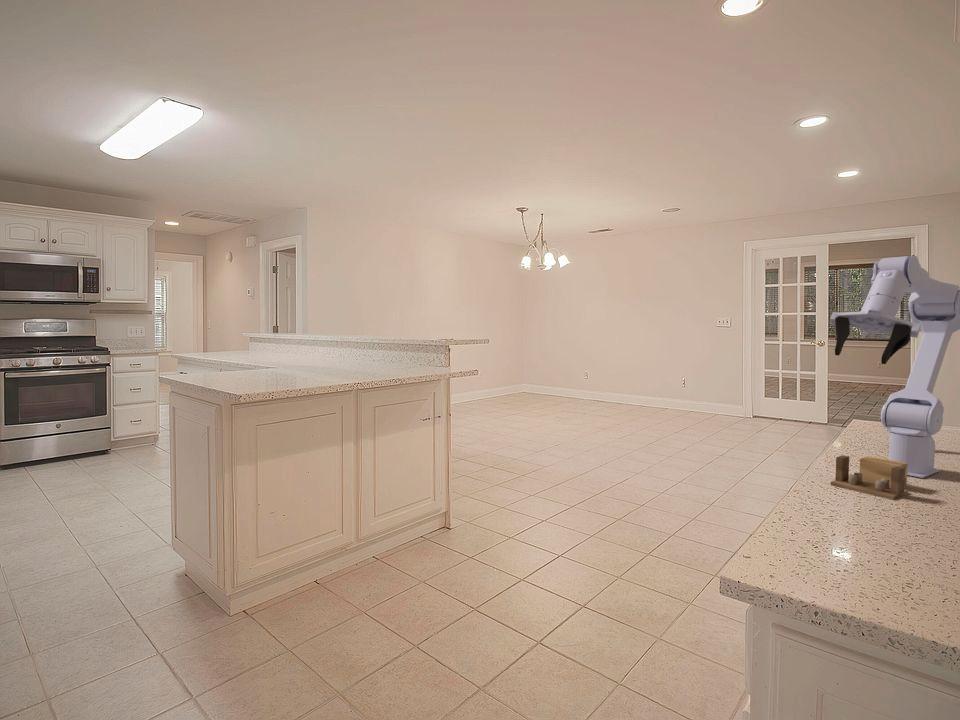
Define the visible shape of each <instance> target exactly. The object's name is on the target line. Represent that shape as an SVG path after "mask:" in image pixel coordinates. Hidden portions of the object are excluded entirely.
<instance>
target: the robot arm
mask: <svg viewBox="0 0 960 720" xmlns="http://www.w3.org/2000/svg"><path fill="white" fill-rule="evenodd" d="M872 270H873V271H872V277H871V280H870V285H871V286H870V289H869V291H868V294H867V296H866V298H865V300H864V303H863V305H862V307H861V310H860V311H847V312H846V311H845V312H836V311H832V314H831V315H830V318H829V324H830V325H831V326H835V327H834V328H835V335H836V336H835V337H836V342H835V343H836V344H835V347H834V355H835V356H838V357H839V356H840V355H841V353H842V350H843V348H844V344H845V343H846V341H847V339H848V337H849V336H850V334H851V329H850V327H854V328H857V329H860V330H861V331H862V330H863V331H864V332H865V331H866V332H869V333H874V334H891V335H890V337H889V340H888V343H887V344H886V345H885V346H886V347H885V348H884V350H883V353H882V355H881V359H880V360H881V362H880V363H881V365H886V364H887V363H888V361H889V360H890V359H891V358H892V357H893V356H894V355H895V354H896V353H897V352H898V351H899V350H901V349H902V348H904V347H906V346H907V345H908V344H909V342H910V339H911V337H912V338H918V336H919V335H920V333H922V338H921V340H920V344H919V346H918V349H917V353H916V356H915V358H914V361H913V364H912V368H911V369H910V373H909V376H908V379H907V381H906V384H905V388H903V389H900V390H898V391H895V392H893V393H890V394H889V396H888V398H887V400H886V402H885V403H884V404H883V406H882V408H881V411H880V422H881V424H882V425H883V427H884V428H886V432H889V446H888V460H893V461H899V462H904V463H908V468H907V476H912V477H916V478H921V479H924V478H926V477H929V476H931V475H933V474H936V473H938V472H940V469H939V468H935V458H936V457H935V453H936V442H935V440H934V438H933V437H932V436H933V435H936V434H937V433H939V432H940V431H941V428H942V426H943V421H944V420H943V419H944V411H945V409H944V408H945V407H944V404H943V402H942V401H941V400H940V399H939V398H938V397H937V396H936V395H934V394H933V392H934V389H935V386H936V383H937V379H938V376H939V373H940V370H941V368H942V365H943V362H944V359H945V355H946V352H947V349H948V346H949V343H950V341H951V338H952V336H953V334H954V333H956V332H958V331H960V286H959V284H953V283H949V282H943V281H940V280H937V279H934V278H931V277H930V274H929V271H927V269H925V268H923V267H922V265H921V264H920V261H919V258H918V256H917V255H912V256H911V255H906V256H892V257H883V258H881V259H879V260H878V261H877V260H876V262H874V264H873V268H872ZM906 293H909V294H910V295H909V299H908V312H909V314H910V318H911V319H910V320H911V321H908V320H906V319H902V318H899V317H896V316H897V313H898V311H899V308H900V306H901V304H902V301H903V299H904V296H905V294H906Z"/></svg>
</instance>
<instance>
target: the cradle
mask: <svg viewBox="0 0 960 720" xmlns="http://www.w3.org/2000/svg"><path fill="white" fill-rule="evenodd" d="M849 471H850V456H849V455H845V454H844V455H839V456H836V459H835V480H833V481H830V485H831V486H834V487H837V488H842V489H847V490H850V491H851V490H852V491H855V492H860V493H863V494H868V495H870V496H871V495H872V496H876V497H880V498H883V499H888V500H892V501H894V500H895V499H899V498H900V497H903V496H906V495H907V494H909V490H908V489H905V487H904V485H905V467H902V466H896V467H893V468H892V469H891V486H889V485H890V480H889V479H885V478H881V481H880V480H876V483H874V482H869V481H865V480H862V474H861V473H860V472H854V473H853V474H850V472H849Z"/></svg>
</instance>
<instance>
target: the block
mask: <svg viewBox="0 0 960 720" xmlns="http://www.w3.org/2000/svg"><path fill="white" fill-rule="evenodd" d="M896 466H902V467H905V485H904V488H905V487H907V483H908V475H907V468H908V463H904V462H899V461H893V460H889V458H888V459H886V458H882V457H876V456H871V455H868V456H864V457H861V458H860V459H859V473H861V474H862V480H865V481H869V482H874V483H876V480H880V481H881V478H885V479H889V480H890V485H889V486H891V469H892V468H893V467H896Z"/></svg>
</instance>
